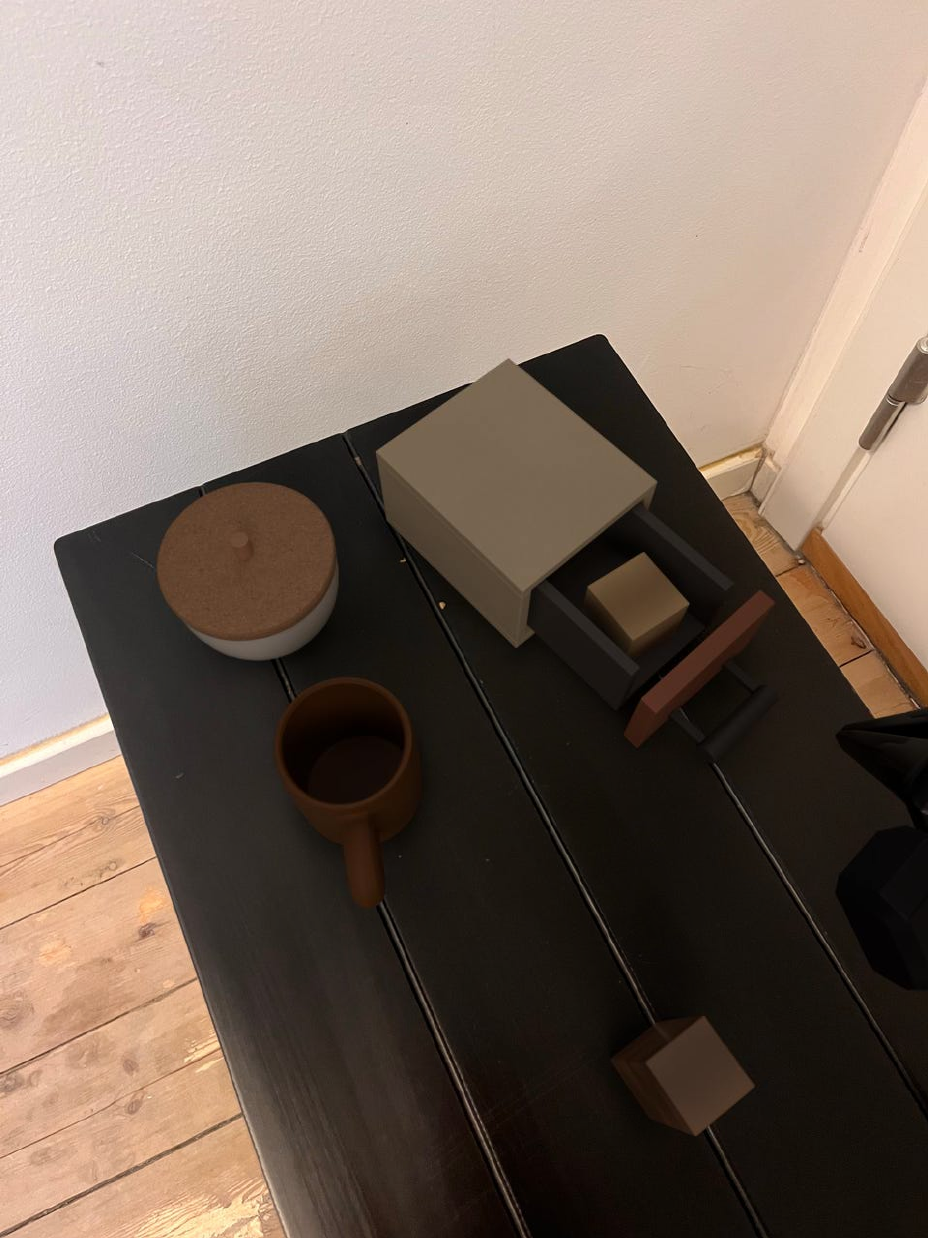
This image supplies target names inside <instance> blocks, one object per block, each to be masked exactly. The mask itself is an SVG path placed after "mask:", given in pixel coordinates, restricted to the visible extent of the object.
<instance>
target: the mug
mask: <svg viewBox="0 0 928 1238" xmlns="http://www.w3.org/2000/svg"><path fill="white" fill-rule="evenodd" d="M274 732H275V733H274V737H273V746H272V747H273V758H274V764H275V767H276V770H277V773H278V775H279V777H280V781H281V784H282V785H283V787H284V789H285V792H286V793H287V795H289V797H290V798H291V800H292V801H293V803H294V804H295V806H296V807H297V808H298V810H299V812H301V814H302V815H303V817H304V818H305V819H306V820H307V822H308V824H310V825H311V827H313V829H314V830H315V831H316V832H318V833H319V834H320V835H322V836H323V837H324V838H326V839H327V840H329V841H331V842H333V843H335V844H339V845H342V846H343V848H342V849H343V856H344V857H343V858H344V864H345V871H346V876H347V877H346V878H347V882H348V887H349V891H350V894H351V897H352V899H353V901H354V902H355V904H356V905H357V906H358V907H361V908H363V909H373V908H375V907H377V906H379V905H380V904H381V903H382V902H383V901H384V898H385V896H386V876H385V867H384V859H383V853H382V845H381V844H382V843H383V842H386V841H388V840H389V839H392V838H393V837H395V836H396V835H397V834H399V833H400V832H401V831H402V830H403V829H404V828H405V827H406V826H407V825H408V824H409V822H410V821H411V820H412V818H413V816H414V815H415V814H416V812H417V809H418V807H419V805H420V802H421V798H422V793H423V772H422V771H423V770H422V765H421V756H420V755H421V754H420V750H419V744H418V740H417V735H416V731H415V727H414V725H413V722H412V721H411V719H410V716H409V714H408V712H407V710H406V708H405V706H404V705H403V703H401V701H400V699H398V697H397V696H396V695H395V694H394V693H393V692H392V691H390V690H388V689H387V688H386V687H384V686H383V685H381V684H380V683H377V682H375V681H373V680H370V679H367V678H363V677H355V676H340V677H334V678H333V677H332V678H329V679H325V680H321V681H320V682H317V683H315V684H312V686H309V687H308V688H306V689H305V690H304V691H302V692H301V693H299V694H298V695H297V696H296V697H295V698H293V700H292V701H291V702H290V703H289V704H288V706H287V707H286V708H285V710H284V712H283V713H282V714H281V717H280V718H279V720H278V723H277V726H276V728H275V731H274Z"/></svg>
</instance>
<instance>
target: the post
mask: <svg viewBox="0 0 928 1238" xmlns="http://www.w3.org/2000/svg"><path fill="white" fill-rule="evenodd" d="M610 1062H611V1064H612V1065H613V1066H614V1068H615V1070H616V1071H617V1073H618V1074H619V1075H620V1077H621V1078H622V1080H623V1082H624V1083H625V1084H626V1087H627V1088H628V1089H629V1091H630V1092H631V1093H632V1095H633V1097H634V1098H635V1099H636V1101H637V1102H638V1104H639V1106H640V1107H641V1109H642V1110H643V1112H644V1113H645V1115H646V1116H647V1118H648V1119H650V1120H651V1121H655V1122H657V1123H660V1124H663V1125H665V1126H668V1127H670V1128H673V1129H676V1130H678V1131H681V1132H682V1133H686V1134H689V1135H691V1136H693V1137H697V1136H699V1135H700V1134H701V1133H702V1132H704V1131H705V1130H706V1129H707V1128H708V1127H709V1126H711V1124H713V1123H714V1122H715V1121H717V1120H718V1119H719V1118H720V1117H721V1116H723V1115H724V1114H725V1113H726V1112H727V1111H728V1110H730V1109H731V1108H732V1107H733V1106H734V1105H735V1104H737V1103H738V1102H739V1101H741V1099H743V1098H744V1097H745V1096H746V1095H748V1094H749V1093H750V1092H751V1091H752V1090H754V1089H755V1088H756V1085H755V1083H754V1081H753V1080H752V1079H751V1077H750V1076H749V1075H748V1073H747V1072H746V1071H745V1069H744V1068H743V1067H742V1065H741V1064H740V1062H739V1061H738V1059H737V1058H736V1057H735V1056H734V1054H733V1053H732V1051H731V1050H730V1048H729V1047H728V1045H727V1044H726V1043H725V1042H724V1040H723V1038H722V1037H721V1036H720V1034H719V1033H718V1032H717V1031H716V1029H715V1028H714V1026H713V1025H712V1024H711V1022H710V1021H709V1019H708V1018H707V1016H706V1015H705V1014H704V1015H695V1016H687V1017H681V1018H675V1019H668V1020H659V1021H657V1022H655V1023H654V1024H653V1025H651V1026H650V1027H648V1029H646V1030H645V1031H644V1032H643V1033H642V1034H640V1035H638V1036H637V1037H636V1038H635V1039H634V1040H632V1041H631V1042H630V1043H628V1044H627V1045H626V1046H625V1047H623V1048H622V1049H621V1050H620V1051H619V1052H616V1054H614V1056H612V1057H611V1058H610Z"/></svg>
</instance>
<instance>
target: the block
mask: <svg viewBox="0 0 928 1238" xmlns="http://www.w3.org/2000/svg"><path fill="white" fill-rule="evenodd" d="M688 606H689V602H688V601H687V600H686V599H685V598H684V597H683V596H682V594H681V593H680V592H679V591H678V590H677V589H676V588H675V586H674V585H673V584H672V583H671V582H670V581H669V580H668V579H667V577H666V576H665V575H664V574H663V573H662V572H661V571H660V570H659V568H658V567H657V566H656V565H655V564H654V563H653V562H652V561H651V559H650V558H649V557H648V556H647V555H646V554H645V553H644V552H642V553H641V554H639V555H638V556H636V557H634V558H633V559H631V560H630V561H628V562H626V563H625V564H623V565H621V566H620V567H618V568H617V569H615V570H613V571H612V572H610V573H609V574H607V575H605V576H604V577H602V578H600V579H599V580H597V581H596V582H594V583H592V584H591V585H589V586H588V587H587V591H586V595H585V599H584V603H583V607H582V611H581V613H583V614H584V615H585V616H586V617H587V618H588V619H589V620H590V621H591V622H592V623H593V624H594V625H595V626H596V627H598V628H599V629H600V630H601V631H602V632H603V633H604V634H605V635H606V636H607V637H608V638H609V639H610V640H611V641H612V642H614V643H615V644H616V645H617V646H618V647H619V648H620V649H621V650H622V651H623V652H624V653H625V654H626V655H627V656H629V657H630V658H631V659H632V660H633V661H635V660H637V659H638V658H640V657H641V656H643V655H644V654H646V653H647V652H649V651H650V650H652V649H653V648H655V647H657V646H658V645H660V644H661V643H663V642H664V641H666V640H667V639H669V638H670V637H672V636H673V635H674V634H675V632H676V630H677V628H678V626H679V624H680V622H681V620H682V618H683V616H684V614H685V612H686V610H687V608H688Z"/></svg>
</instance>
